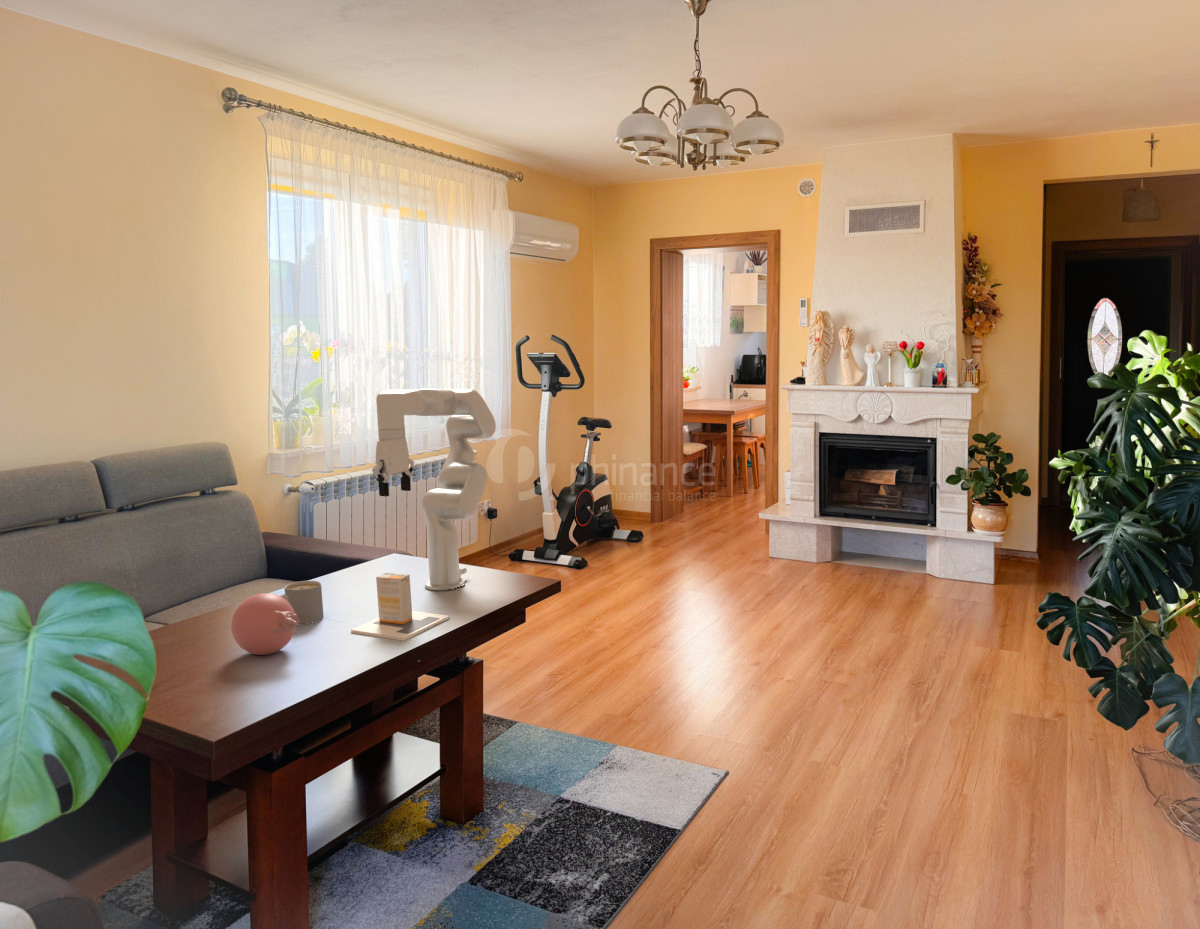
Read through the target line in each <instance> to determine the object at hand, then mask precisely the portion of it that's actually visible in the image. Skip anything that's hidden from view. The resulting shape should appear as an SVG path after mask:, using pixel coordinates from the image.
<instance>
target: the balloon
mask: <svg viewBox="0 0 1200 929" xmlns="http://www.w3.org/2000/svg"><path fill="white" fill-rule="evenodd" d="M298 624H299V619H297V615H296V614H295V612H294V609H293V608H292V606H291V605H290V603H289V602H288V601H286V600H285V599H284V598H282V597H280V595H278V594H275V593H270V592H269V593H267V592H266V593H263V592H262V593H257V594H254V595H251V596H249V597H248V598H246V599H244V600H243V601H241V603H240V604H239V605H238V606H237V607H236V610H235V611H234V612H233V615H232V619H231V624H230V626H231V634H232V636H233V639H234V641H235V642H236V644H237V645H238V646H239V647H240V648H241V649H242V650H244V651H245V652H247V653H251V654H253V655H258V656H259V655H260V656H265V655H270V654H271V655H272V654H275V653H277V652H278V651H281V650H282V649H283V648H285V647H286V646H287V645H288V644H289V643H290V642H291V640H292V639H293V637H294V634H295V632H296V629H297V626H298Z"/></svg>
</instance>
